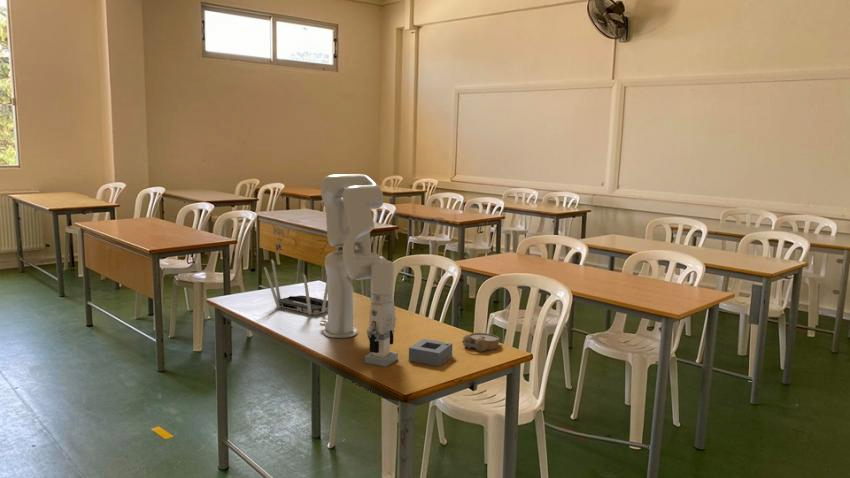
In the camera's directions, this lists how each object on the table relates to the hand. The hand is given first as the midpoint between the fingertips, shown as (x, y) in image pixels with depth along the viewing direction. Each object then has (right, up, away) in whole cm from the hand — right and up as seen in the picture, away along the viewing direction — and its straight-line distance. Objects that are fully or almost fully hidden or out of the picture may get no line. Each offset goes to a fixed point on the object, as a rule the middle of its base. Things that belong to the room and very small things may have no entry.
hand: (381, 347), depth 209 cm
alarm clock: (+34, -3, +17) cm, 39 cm away
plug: (0, -4, +1) cm, 5 cm away
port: (+16, -4, +4) cm, 17 cm away
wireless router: (-38, +6, +60) cm, 71 cm away
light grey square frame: (0, -4, +1) cm, 5 cm away
